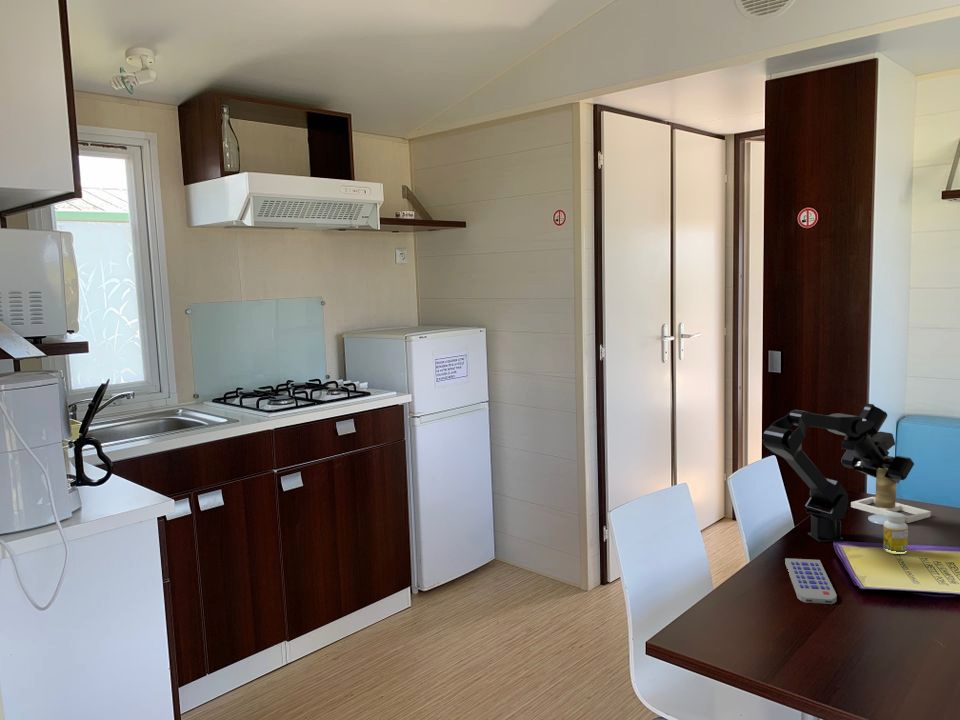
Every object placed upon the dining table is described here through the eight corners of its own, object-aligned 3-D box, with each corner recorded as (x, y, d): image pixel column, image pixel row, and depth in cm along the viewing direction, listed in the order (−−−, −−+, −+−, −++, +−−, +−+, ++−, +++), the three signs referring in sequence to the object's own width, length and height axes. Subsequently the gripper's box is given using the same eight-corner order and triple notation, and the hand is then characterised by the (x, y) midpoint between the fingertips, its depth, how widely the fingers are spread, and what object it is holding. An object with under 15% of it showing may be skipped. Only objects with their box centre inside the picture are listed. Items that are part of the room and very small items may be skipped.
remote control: (820, 567, 182) (820, 558, 182) (838, 606, 160) (838, 596, 160) (785, 565, 184) (785, 557, 184) (798, 603, 162) (798, 594, 162)
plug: (882, 509, 208) (884, 460, 206) (871, 503, 213) (873, 455, 211) (899, 507, 208) (901, 459, 207) (887, 502, 213) (889, 454, 211)
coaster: (881, 527, 206) (881, 525, 206) (861, 517, 215) (861, 515, 215) (911, 524, 207) (911, 523, 207) (890, 514, 216) (890, 513, 216)
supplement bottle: (909, 556, 185) (909, 518, 184) (885, 554, 187) (885, 517, 186) (905, 548, 190) (905, 511, 189) (881, 546, 192) (882, 510, 191)
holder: (908, 523, 208) (908, 517, 208) (851, 507, 224) (851, 502, 224) (930, 516, 212) (930, 511, 212) (873, 501, 229) (873, 496, 228)
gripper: (910, 429, 198) (935, 463, 204) (848, 419, 215) (873, 451, 220) (890, 462, 195) (916, 496, 201) (829, 449, 212) (854, 481, 218)
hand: (889, 480), depth 210 cm, fingers closed on plug, 5 cm apart
